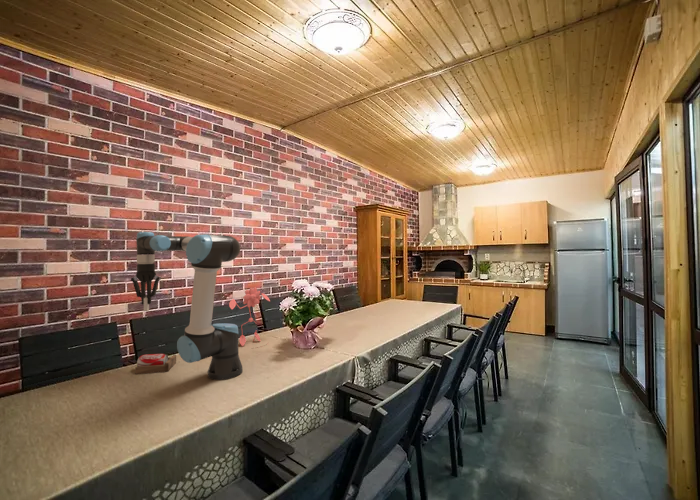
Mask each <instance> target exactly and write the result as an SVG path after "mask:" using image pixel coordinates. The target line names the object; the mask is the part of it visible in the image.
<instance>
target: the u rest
mask: <svg viewBox="0 0 700 500" xmlns="http://www.w3.org/2000/svg"><path fill="white" fill-rule="evenodd" d="M176 363H177V355H176V354H173V355H172V356H171V357H169V356H168V361H167V362H166V363H165V364H164V365H151V366H138V367H137V366H135V368H134V369H135V375H143V374H144V375H145V374H154V373H167V372H170V370H172V368H174V366H175V365H176Z"/></svg>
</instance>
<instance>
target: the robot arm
mask: <svg viewBox="0 0 700 500" xmlns="http://www.w3.org/2000/svg"><path fill="white" fill-rule="evenodd" d="M135 242H136V274H135V276H134V277H131V278H130V281H131V282H132V284H133V288H134V290H135V291H134V292H135V294H136V297H137V298H141V305H143V312H148V311H150V305H151V304H152V297H155V296H156V293H157V290H158V287H159V283H160V280H161V279H162V276H158V275H157V273H156V266H155V265H156V264H155V263H156V262H155V261H156V260H155V259H156V258H155V257H156V256H155V254H156V253H155V252H185V255H186V259H187V261H188V262H190V267H192V269H193V270H194V275H193V285H192V286H193V287H192V295H191V296H192V297H191V305H190V306H191V307H190V316H189V325H187V326H185V328H184V335H181V336H180V337H179V338H178V339H177V342H176V349H177V352H178V354H179V356H180V358H181V359H182V360H183V361H184V362H185V363H189V364H190V363H195V362H200V361H201V360H204V359H208V358H210V357H211V359H210V360H211V361H210V362H209V366H208V369H207V378H209V379H211V380H217V381H218V380H219V381H221V380H228V379H232V378H236V377H238V376H240V375H241V374H242V373H243V363H242V361H241V359H240V356H239V351H240V350H239V338H240V336H239V335H240V334H239V327H238V325H237V324H235V323H224V322H223V323H222V322H221V323H219V322H218V323H213V324H212V321H213V315H214V313H213V312H214V302H215V294H216V286H217V285H216V284H217V274H218V271H219V270H221V268H222V265H223V264H222V263H225V262H226V263H228V262H231V261H234V260H235V259H236V258H238V256H239V255H240V252H241V245H240V242H239V241H238V240H237V238H235V237H233V236H230V235H226V234H225V235H219V234H196V235H194V236H186V235H184V236H177V235H176V236H174V235H161V234H160V235H159V234H158V235H155V233H154V232H151V231H148V232H147V231H139V232H137V233H136V239H135ZM153 280H154V282H153V285H152V281H153ZM138 281H139V282H140V284H139V282H138Z"/></svg>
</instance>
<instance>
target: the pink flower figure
mask: <svg viewBox="0 0 700 500" xmlns="http://www.w3.org/2000/svg"><path fill="white" fill-rule="evenodd" d="M244 293H245V295H244V296H243V297H242V298H243V302H242V304H243V305H244V306H242V307H240V306H239V305H238V303H237V302H236V300H235V299H234V298H232V299H230V301H229V304H228V306H229V308H230V309H231V310H234V309H235V307H236V306H237V307H238V308H239V309H240V310H241V309H243V308H246V307H247V309H248V310H249V311H248V312H249V316H250V317H249V318H248V321H246V322H244V323H242V325H240V326H241V327H240V329H241V330H243V325H246V324H247V323H252V322H254V323H256V321H255V320H254V318H253V317H252V313H251V307H252V308H255V307H256V306H257V305H259V304H260V300H261V298H262V297H263V299H265V300H266V301H267V302H271V300H270V298H269V296H268V295H266V293H263V292H261V291H260V290H258V288H257V287H256V286H254V288H253V287H250V288H249V289H246V290H244ZM243 332H244V331H241V335H240V336H239V340H238V342H239V345H241V347H242V348H243V347H244V346H245V344H246V341H247V339H246V336H245V335H243ZM253 335H254V337H253V340H252V341H253V342H255V339H256V340H257V341H258V342H261V337H260V335H259V333H257V331H255V332H254V333H253ZM267 345H268V343H267V344H265V345H262V346H260V348H262V347H265V346H267ZM257 348H258V349H259V346H258V347H256V349H257ZM251 349H253V348H251Z"/></svg>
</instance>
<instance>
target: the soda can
mask: <svg viewBox="0 0 700 500" xmlns="http://www.w3.org/2000/svg"><path fill="white" fill-rule="evenodd" d="M168 358H169V355H168V354H165V353H150V354H149V353H148V354H141V355H140V356H139V357H138V358H137V361H136V367H138V366H151V365H164V364H165V363H166V362H167V361H168Z"/></svg>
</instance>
